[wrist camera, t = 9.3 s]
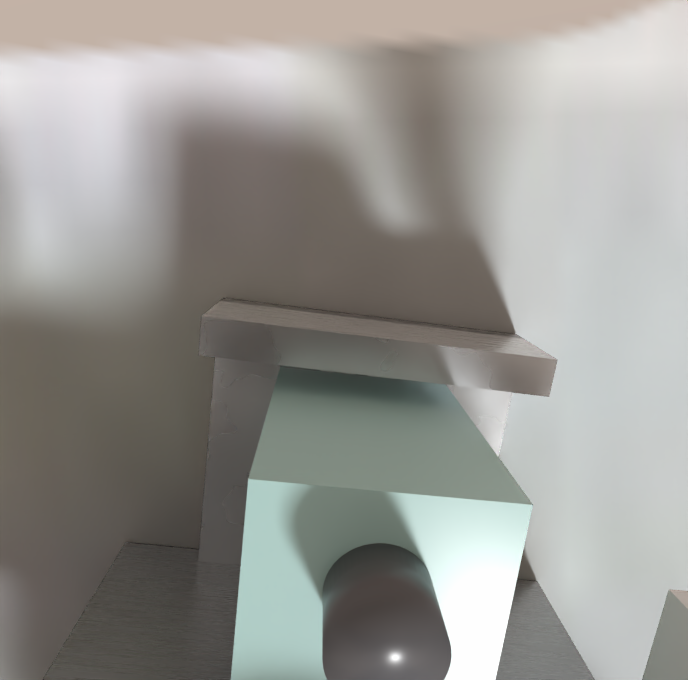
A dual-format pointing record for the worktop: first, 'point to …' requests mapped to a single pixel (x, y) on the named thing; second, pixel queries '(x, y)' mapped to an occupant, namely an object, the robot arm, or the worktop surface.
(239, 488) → the motor
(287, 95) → the worktop surface
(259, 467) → the block
